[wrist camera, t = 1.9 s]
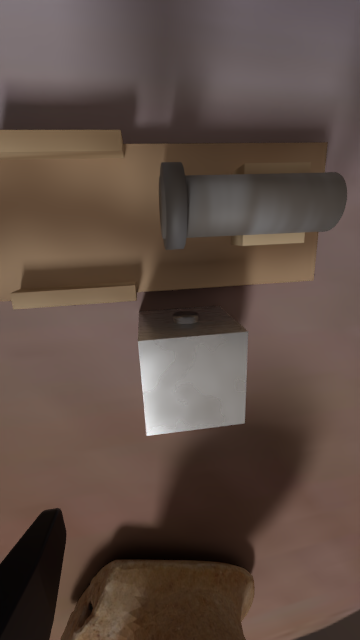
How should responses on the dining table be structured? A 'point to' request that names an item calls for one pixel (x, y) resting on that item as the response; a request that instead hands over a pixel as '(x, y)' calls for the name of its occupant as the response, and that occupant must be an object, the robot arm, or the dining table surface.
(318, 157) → the shaft bench
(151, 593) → the stone cup
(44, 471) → the dining table surface
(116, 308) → the dining table surface
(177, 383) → the block
